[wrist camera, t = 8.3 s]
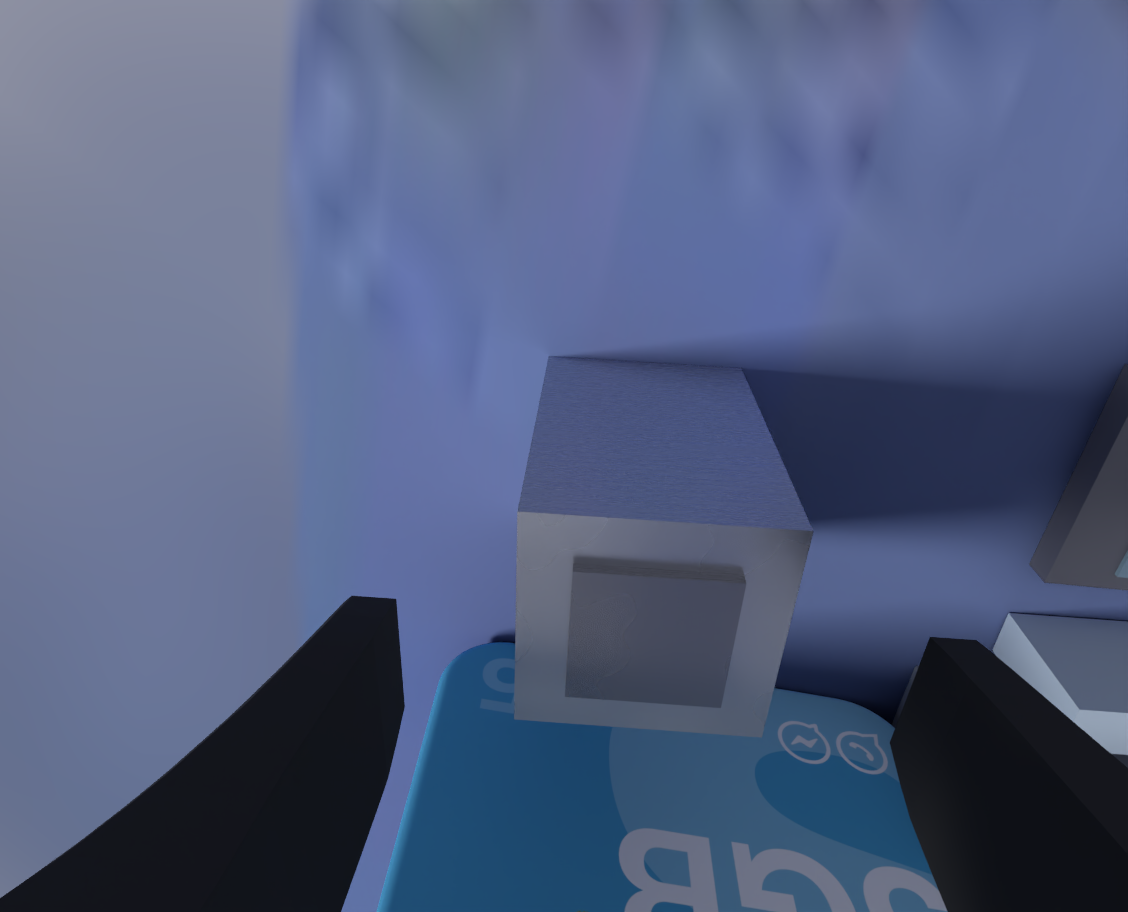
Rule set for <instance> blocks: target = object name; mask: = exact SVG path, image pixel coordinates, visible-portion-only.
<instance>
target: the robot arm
mask: <svg viewBox="0 0 1128 912" xmlns="http://www.w3.org/2000/svg"><path fill="white" fill-rule="evenodd" d="M404 707H405V706H404V693H403V680H402V668H401V655H400V642H399V629H398V617H397V604H396V599H389V598H375V597H361V596H351V597H350V598H349V599H347V600H346V601H345V602H344V603H343V604H342V605H341V606H340V607H339V608H338V609H337V610H336V611H335V612H334V613H333V614H332V615H331V616H330V617H329V618H328V619H327V620H326V621H325V623H324V624H323V625H322V626H321V627H320V628H319V629H318V630H317V631H316V632H315V633H314V634H313V635H312V636H311V637H310V638H309V639H308V640H307V641H306V642H305V643H304V644H303V645H302V646H301V647H300V648H299V649H298V650H297V651H296V652H295V653H294V654H293V655H292V657H291V658H290V659H289V660H288V661H287V662H286V663H285V664H284V665H283V666H282V667H281V668H280V669H279V670H278V671H277V672H276V673H275V674H273V675H272V676H271V678H269V679H268V680H267V681H266V682H265V683H264V684H263V685H262V686H261V687H260V688H259V689H258V690H257V691H256V692H255V693H254V694H253V695H252V696H251V697H250V698H249V699H248V700H247V701H246V702H244V703H243V704H242V706H240V707H239V708H238V709H237V710H236V711H235V712H234V713H233V714H232V715H231V716H230V717H229V718H228V719H226V720H225V721H224V722H223V723H222V724H221V725H220V726H219V727H218V728H216V729H215V730H214V731H213V732H212V733H211V734H210V735H209V736H207V737H206V738H205V739H204V740H203V741H202V742H201V743H199V744H198V745H197V746H196V747H195V748H194V749H193V750H192V751H190V752H189V753H188V754H187V755H186V756H185V757H184V758H182V759H181V760H180V761H179V762H178V763H177V764H176V765H175V766H173V767H172V768H171V769H170V770H169V771H168V772H166V773H165V774H164V775H163V776H162V777H160V779H158V780H157V781H156V782H154V783H153V784H152V785H151V786H150V787H148V788H147V789H146V790H145V791H144V792H142V793H141V794H140V795H139V796H138V797H136V798H135V799H134V800H132V801H131V802H130V803H129V804H127V806H125V807H124V808H122V809H121V810H120V811H119V812H117V813H116V814H115V815H113V816H112V817H111V818H110V819H108V820H107V821H106V822H104V823H103V824H102V825H101V826H99V827H98V828H97V829H95V830H94V831H93V832H92V833H90V834H89V835H88V836H86V837H85V838H84V839H82V840H81V841H80V842H78V843H77V844H76V845H74V846H73V847H72V848H70V849H69V850H68V851H66V852H65V853H63V854H62V855H61V856H59V857H58V858H56V859H55V860H54V861H52V862H51V863H49V864H48V865H47V866H45V867H44V868H42V869H41V870H40V871H38V872H37V873H35V874H34V875H33V876H31V877H30V878H29V879H27V880H26V881H24V882H23V883H21V884H20V885H19V886H17V887H16V888H14V889H13V890H11V891H10V892H9V893H7V894H6V895H4V896H3V897H1V898H0V912H341V910H342V907H343V904H344V901H345V899H346V896H347V893H348V890H349V887H350V885H351V882H352V879H353V876H354V873H355V871H356V868H357V865H358V862H359V859H360V857H361V854H362V851H363V848H364V845H365V843H366V840H367V837H368V834H369V831H370V828H371V826H372V823H373V820H374V817H375V814H376V811H377V808H378V806H379V803H380V800H381V797H382V794H383V791H384V788H385V785H386V782H387V780H388V776H389V772H390V767H391V763H392V759H393V755H394V751H395V747H396V743H397V738H398V734H399V729H400V725H401V720H402V716H403V711H404ZM890 746H891V750H892V754H893V758H894V762H895V766H896V770H897V774H898V778H899V782H900V785H901V789H902V792H903V796H904V799H905V803H906V806H907V810H908V813H909V817H910V820H911V822H912V825H913V827H914V830H915V833H916V835H917V838H918V840H919V843H920V845H921V848H922V850H923V853H924V855H925V858H926V860H927V863H928V865H929V868H930V870H931V873H932V875H933V878H934V880H935V883H936V885H937V887H938V890H939V892H940V895H941V897H942V900H943V902H944V904H945V907H946V909H947V912H1128V768H1127V767H1126V766H1125V765H1124V764H1123V763H1121V762H1120V761H1119V760H1118V759H1117V758H1116V757H1114V756H1113V755H1112V754H1111V753H1110V752H1108V751H1107V750H1106V749H1105V748H1104V747H1102V746H1101V745H1100V744H1099V743H1098V742H1097V741H1095V740H1094V739H1093V738H1092V737H1091V736H1089V735H1088V734H1087V733H1086V732H1085V731H1084V730H1082V729H1081V728H1080V727H1079V726H1078V725H1077V724H1075V723H1074V722H1073V721H1072V720H1071V719H1070V718H1068V717H1067V716H1066V715H1065V714H1064V713H1063V712H1061V711H1060V710H1059V709H1058V708H1057V707H1056V706H1054V705H1053V704H1052V703H1051V702H1050V701H1049V700H1047V699H1046V698H1045V697H1044V696H1043V695H1042V694H1040V693H1039V692H1038V691H1037V690H1036V689H1035V688H1034V687H1032V686H1031V685H1030V684H1029V683H1028V682H1026V681H1025V680H1024V679H1023V678H1022V677H1021V676H1019V675H1018V674H1017V673H1016V672H1015V671H1014V670H1012V669H1011V668H1010V667H1009V666H1008V665H1006V664H1005V663H1004V662H1003V661H1002V660H1000V659H999V658H998V657H997V656H995V655H994V654H993V653H992V652H991V651H989V650H988V649H987V648H985V647H984V646H983V645H982V644H980V643H979V642H978V641H976V640H965V639H951V638H937V637H930V639H929V641H928V644H927V646H926V649H925V652H924V654H923V657H922V660H921V662H920V665H919V667H918V670H917V673H916V675H915V678H914V680H913V683H912V686H911V688H910V691H909V693H908V696H907V699H906V701H905V704H904V706H903V709H902V712H901V714H900V717H899V720H898V722H897V725H896V727H895V730H894V733H893V735H892V738H891V740H890Z"/></svg>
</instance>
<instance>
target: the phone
mask: <svg viewBox="0 0 1128 912" xmlns="http://www.w3.org/2000/svg"><path fill="white" fill-rule="evenodd" d="M1029 565H1030V566H1031V567H1032V568H1033V570H1034V571H1035V572H1036V573H1037V574H1038V575H1039V577H1040V578H1041V579H1042V580H1043V581H1044V582H1045V583H1055V584H1066V585H1077V586H1087V587H1098V588H1109V589H1119V590H1128V364H1125V365H1124V367H1123V369H1122V371H1121V373H1120V375H1119V377H1118V379H1117V381H1116V383H1115V385H1114V388H1113V390H1112V392H1111V394H1110V396H1109V398H1108V400H1107V402H1106V404H1105V406H1104V408H1103V411H1102V413H1101V415H1100V417H1099V419H1098V421H1097V423H1096V425H1095V427H1094V429H1093V431H1092V434H1091V436H1090V438H1089V440H1088V442H1087V444H1086V446H1085V448H1084V450H1083V452H1082V455H1081V457H1080V459H1079V461H1078V463H1077V465H1076V467H1075V469H1074V471H1073V473H1072V475H1071V478H1070V480H1069V482H1068V484H1067V486H1066V488H1065V490H1064V492H1063V494H1062V496H1061V498H1060V501H1059V503H1058V505H1057V507H1056V509H1055V511H1054V513H1053V515H1052V517H1051V519H1050V521H1049V524H1048V526H1047V528H1046V530H1045V532H1044V534H1043V536H1042V538H1041V540H1040V542H1039V544H1038V547H1037V549H1036V551H1035V553H1034V555H1033V557H1032V559H1031V561H1030V563H1029Z"/></svg>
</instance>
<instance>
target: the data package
mask: <svg viewBox="0 0 1128 912" xmlns="http://www.w3.org/2000/svg"><path fill="white" fill-rule="evenodd" d="M514 689H515V643H509V642H496V643H488V644H483V645H479V646H476V647H473V648H471V649H468V650H467V651H465V652H463V653H461V654H460V655H459V656H457V657H456V658H455V659H454V660H453V661H452V662H451V663H450V664H449V665H448V666H447V667H446V669H445V670H444V672H443V674H442V676H441V678H440V681H439V683H438V687H437V691H436V694H435V698H434V702H433V705H432V709H431V713H430V717H429V720H428V724H427V728H426V731H425V735H424V739H423V742H422V746H421V750H420V754H419V757H418V761H417V765H416V768H415V772H414V776H413V779H412V783H411V787H410V790H409V794H408V798H407V802H406V805H405V809H404V813H403V816H402V820H401V824H400V827H399V831H398V835H397V839H396V842H395V846H394V850H393V853H392V857H391V861H390V864H389V868H388V872H387V875H386V879H385V883H384V887H383V890H382V894H381V898H380V901H379V905H378V909H377V912H947V909H946V907H945V904H944V902H943V900H942V897H941V895H940V892H939V890H938V887H937V885H936V883H935V880H934V878H933V875H932V873H931V870H930V868H929V865H928V863H927V860H926V858H925V855H924V853H923V850H922V848H921V845H920V843H919V840H918V838H917V835H916V833H915V830H914V827H913V825H912V822H911V820H910V817H909V813H908V810H907V806H906V803H905V799H904V796H903V792H902V789H901V785H900V782H899V778H898V774H897V770H896V766H895V762H894V758H893V754H892V750H891V746H890V740H891V738H892V735H893V733H894V730H895V728H894V727H893V726H892V725H891V724H889V723H888V722H887V721H886V720H884V719H883V718H881V717H880V716H878V715H877V714H875V713H873V712H872V711H870V710H868V709H866V708H864V707H862V706H859V705H857V704H855V703H852V702H848V701H845V700H841V699H836V698H830V697H824V696H818V695H812V694H807V693H801V692H795V691H789V690H783V689H778V688H774V691H773V695H772V699H771V703H770V707H769V711H768V715H767V719H766V723H765V727H764V731H763V735H762V738H761V737H747V736H733V735H720V734H706V733H692V732H679V731H665V730H651V729H638V728H624V727H611V726H597V725H583V724H570V723H556V722H542V721H529V720H515V719H514Z"/></svg>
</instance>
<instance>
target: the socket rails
mask: <svg viewBox="0 0 1128 912" xmlns="http://www.w3.org/2000/svg"><path fill="white" fill-rule="evenodd" d="M993 652H994V654H995V655H996V656H997V657H998V658H999V659H1000V660H1002V661H1003V662H1004V663H1005V664H1006V665H1008V666H1009V667H1010V668H1011V669H1012V670H1014V671H1015V672H1016V673H1017V674H1018V675H1019V676H1021V677H1022V678H1023V679H1024V680H1025V681H1026V682H1028V683H1029V684H1030V685H1031V686H1032V687H1034V688H1035V689H1036V690H1037V691H1038V692H1039V693H1040V694H1042V695H1043V696H1044V697H1045V698H1046V699H1047V700H1049V701H1050V702H1051V703H1052V704H1053V705H1054V706H1056V707H1057V708H1058V709H1059V710H1060V711H1061V712H1063V713H1064V714H1065V715H1066V716H1067V717H1068V718H1070V719H1071V720H1072V721H1073V722H1074V723H1075V724H1077V725H1078V726H1079V727H1080V728H1081V729H1082V730H1084V731H1085V732H1086V733H1087V734H1088V735H1089V736H1091V737H1092V738H1093V739H1094V740H1095V741H1097V742H1098V743H1099V744H1100V745H1101V746H1102V747H1104V748H1105V749H1106V750H1107V751H1108V752H1110V753H1111V754H1123V755H1128V622H1127V621H1113V620H1099V619H1085V618H1071V617H1057V616H1043V615H1029V614H1015V613H1008V616H1007V618H1006V620H1005V623H1004V625H1003V627H1002V629H1001V632H1000V634H999V636H998V638H997V641H996V643H995V645H994V648H993Z"/></svg>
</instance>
